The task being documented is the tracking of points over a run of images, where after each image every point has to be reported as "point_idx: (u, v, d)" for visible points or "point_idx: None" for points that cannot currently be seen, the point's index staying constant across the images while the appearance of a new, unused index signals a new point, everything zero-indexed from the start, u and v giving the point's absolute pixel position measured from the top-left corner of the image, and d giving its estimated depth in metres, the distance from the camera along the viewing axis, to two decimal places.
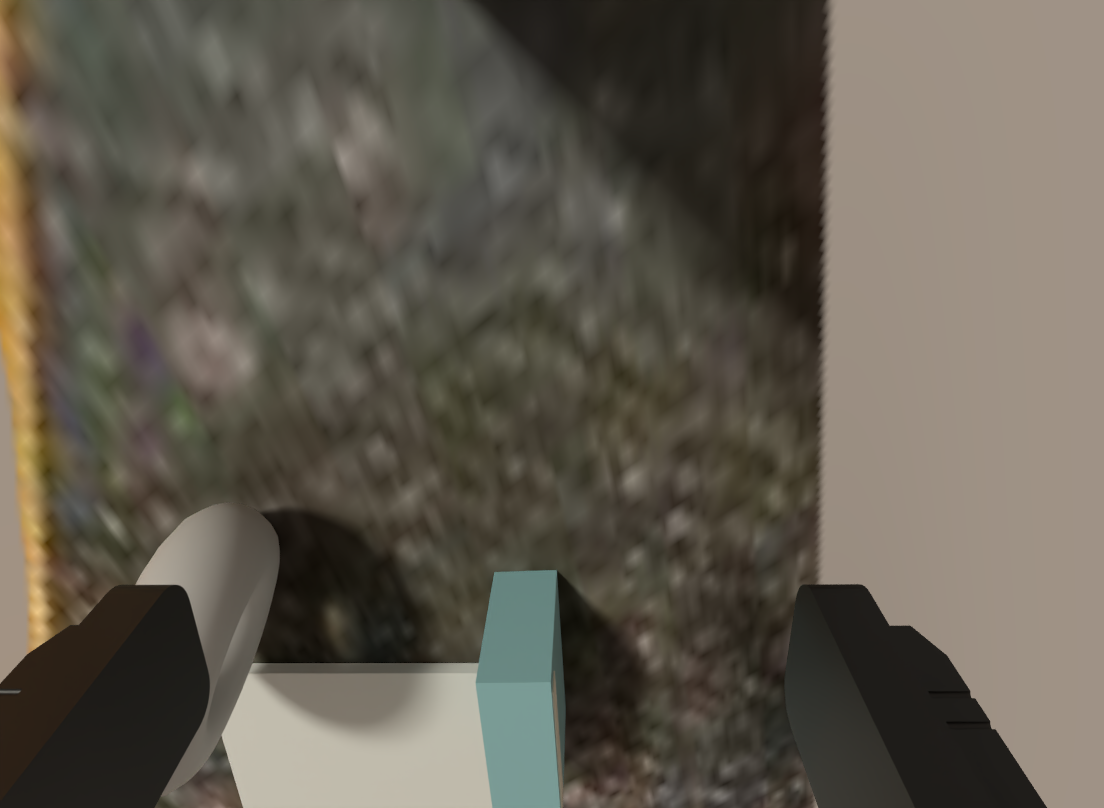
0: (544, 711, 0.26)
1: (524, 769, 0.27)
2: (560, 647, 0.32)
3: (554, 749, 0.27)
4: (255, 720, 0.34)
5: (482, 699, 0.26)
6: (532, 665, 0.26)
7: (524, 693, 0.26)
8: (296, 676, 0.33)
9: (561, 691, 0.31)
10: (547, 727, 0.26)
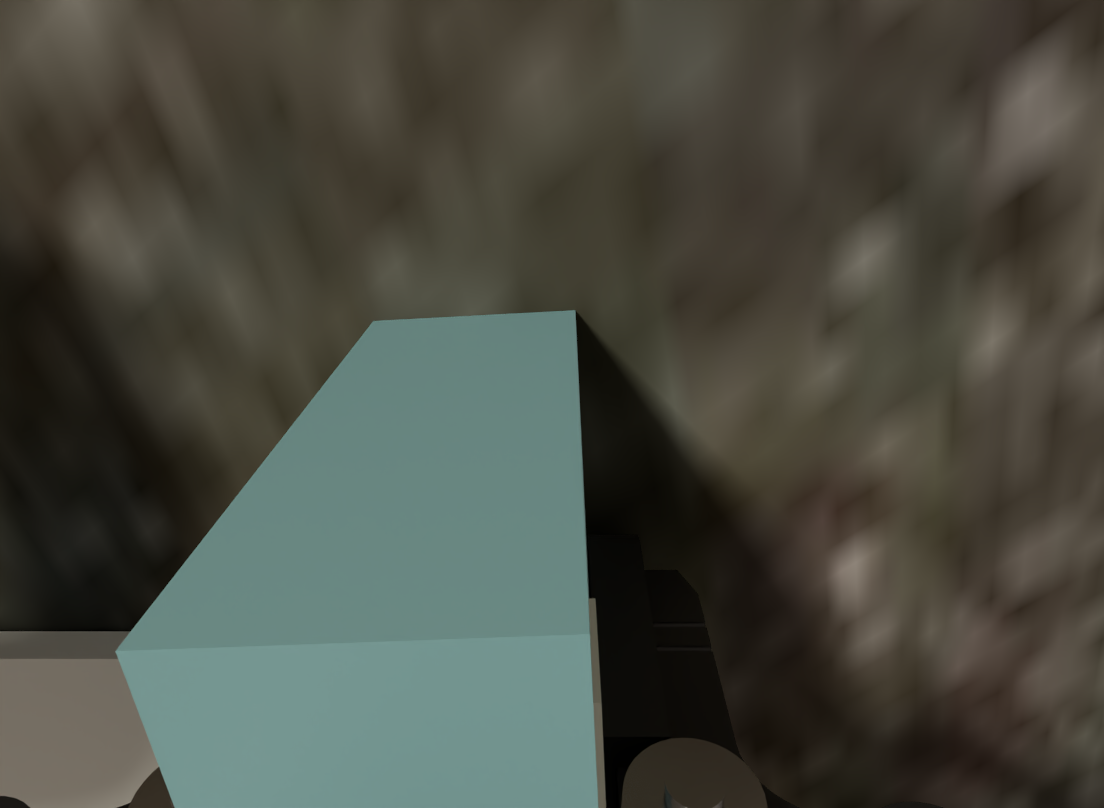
0: None
1: None
2: None
3: None
4: None
5: (181, 754, 0.04)
6: (477, 554, 0.05)
7: (427, 711, 0.04)
8: None
9: None
10: None
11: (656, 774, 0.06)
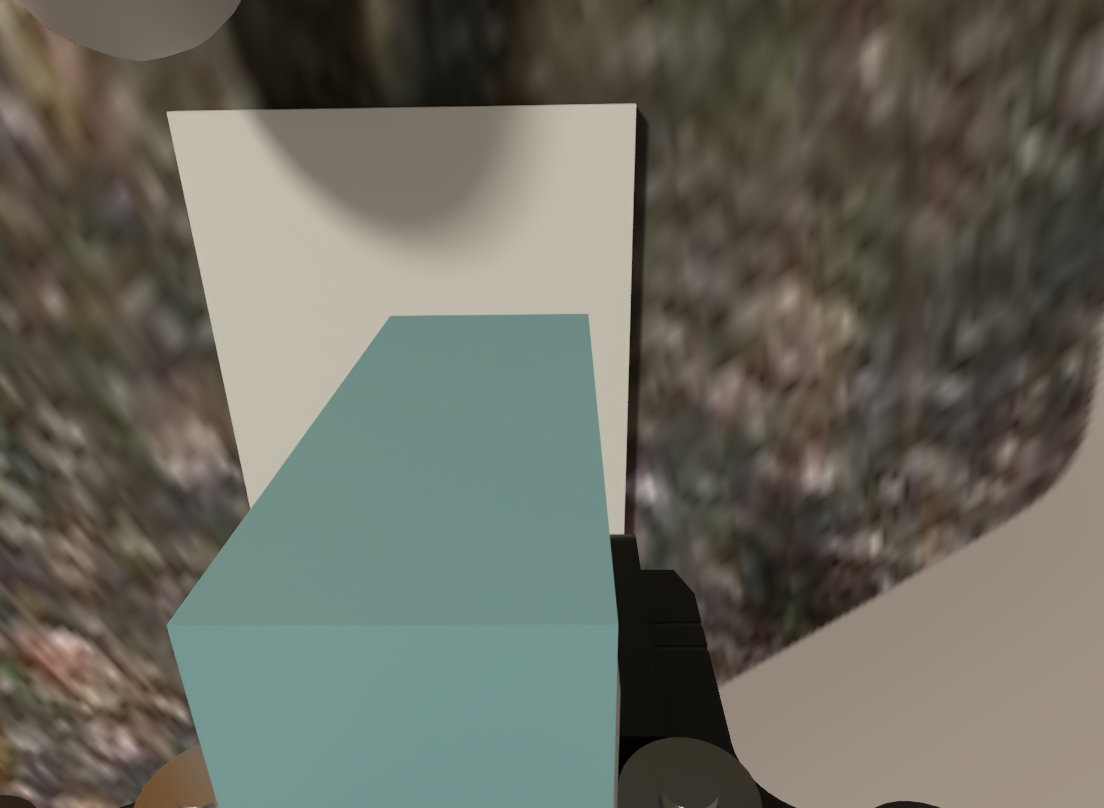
0: (568, 795, 0.05)
1: None
2: None
3: None
4: (248, 218, 0.22)
5: (221, 726, 0.05)
6: (506, 546, 0.05)
7: (459, 693, 0.04)
8: (314, 115, 0.21)
9: None
10: None
11: (651, 774, 0.06)
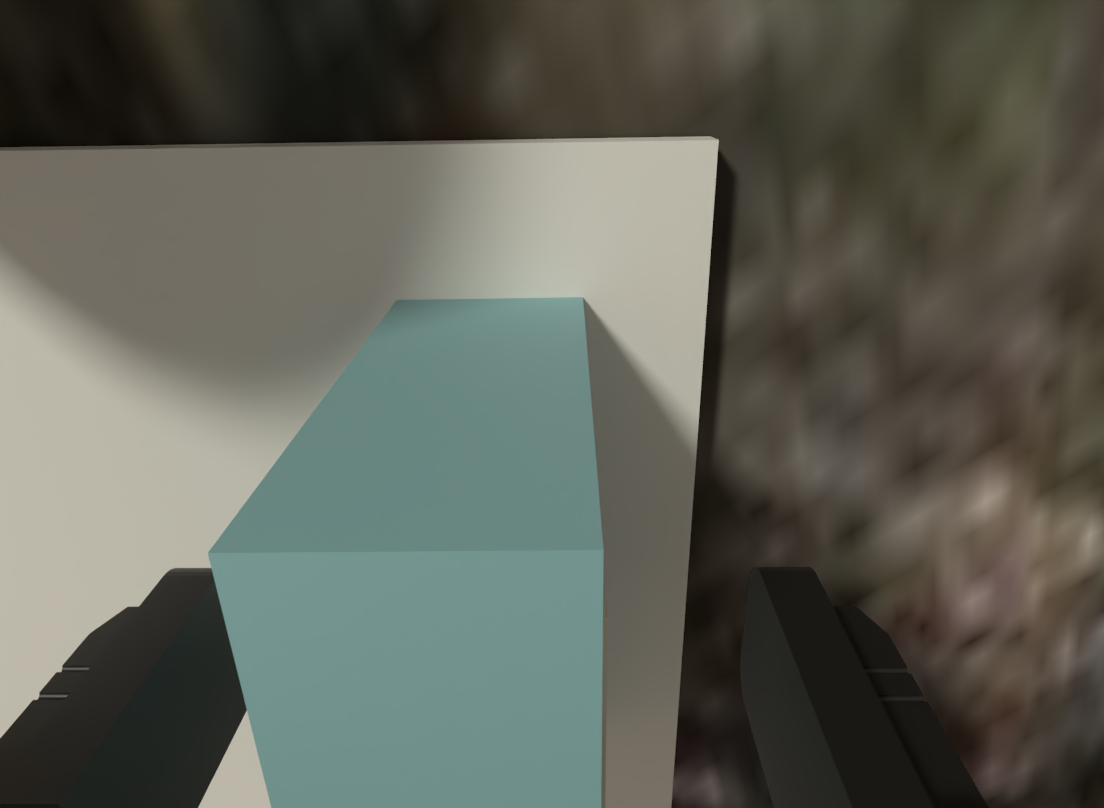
0: (561, 710, 0.05)
1: None
2: None
3: None
4: None
5: (254, 646, 0.05)
6: (506, 491, 0.06)
7: (464, 614, 0.05)
8: (35, 164, 0.10)
9: None
10: (570, 787, 0.06)
11: None
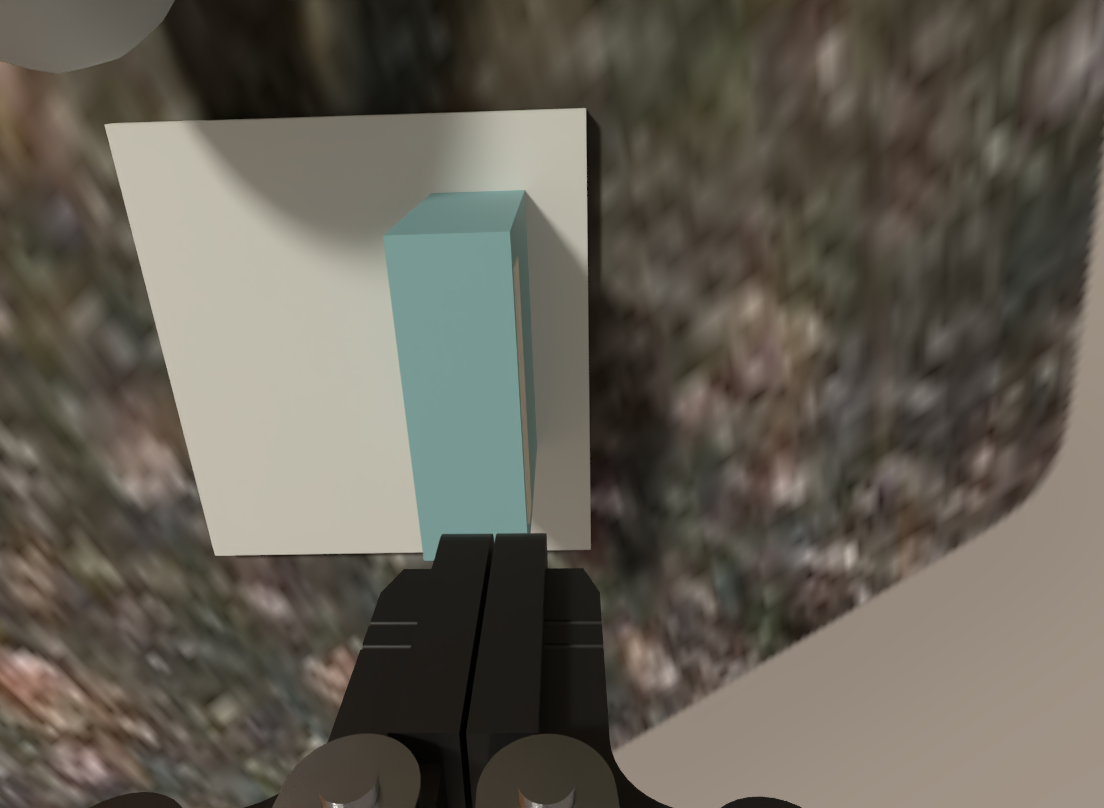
0: (499, 298, 0.16)
1: (467, 427, 0.17)
2: (529, 320, 0.21)
3: (516, 383, 0.16)
4: (192, 232, 0.21)
5: (395, 272, 0.15)
6: (480, 225, 0.16)
7: (465, 257, 0.15)
8: (256, 126, 0.20)
9: (530, 381, 0.21)
10: (504, 334, 0.16)
11: (512, 769, 0.07)
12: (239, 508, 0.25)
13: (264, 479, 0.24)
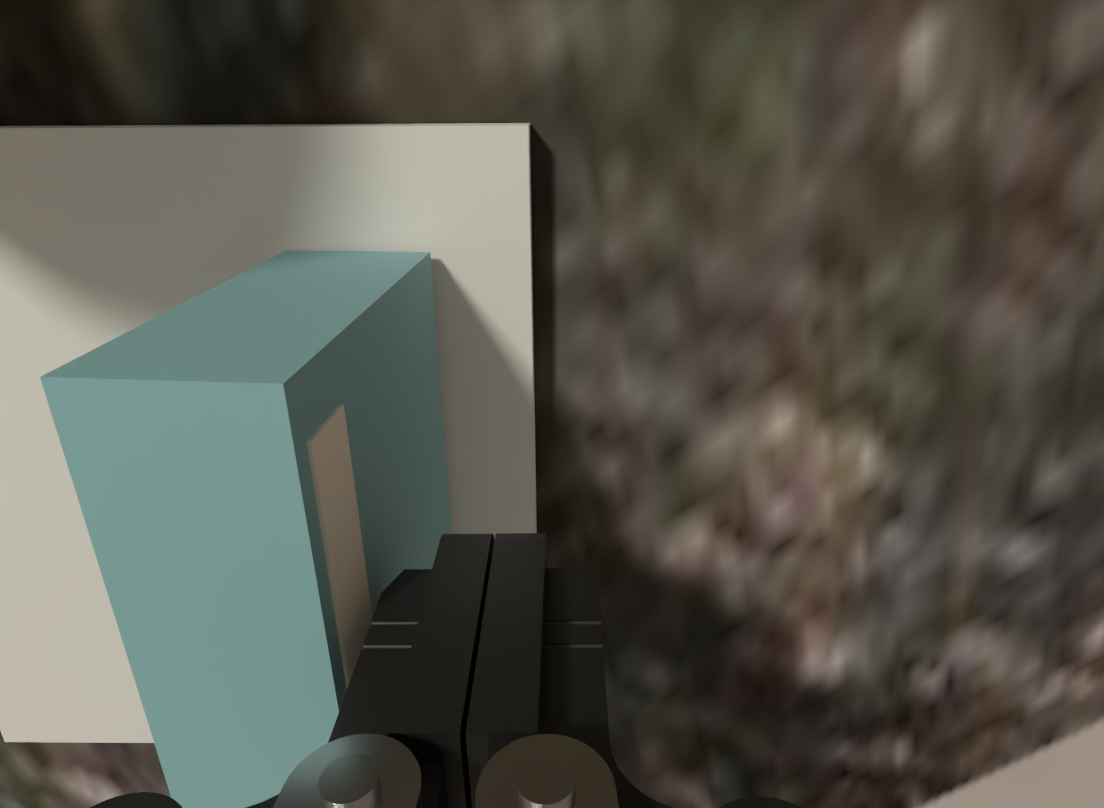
0: (277, 502, 0.08)
1: (244, 704, 0.09)
2: (435, 452, 0.14)
3: (324, 643, 0.09)
4: None
5: (74, 445, 0.08)
6: (252, 355, 0.08)
7: (203, 426, 0.08)
8: None
9: (427, 552, 0.13)
10: (293, 563, 0.08)
11: (512, 770, 0.07)
12: (32, 683, 0.17)
13: (65, 646, 0.17)
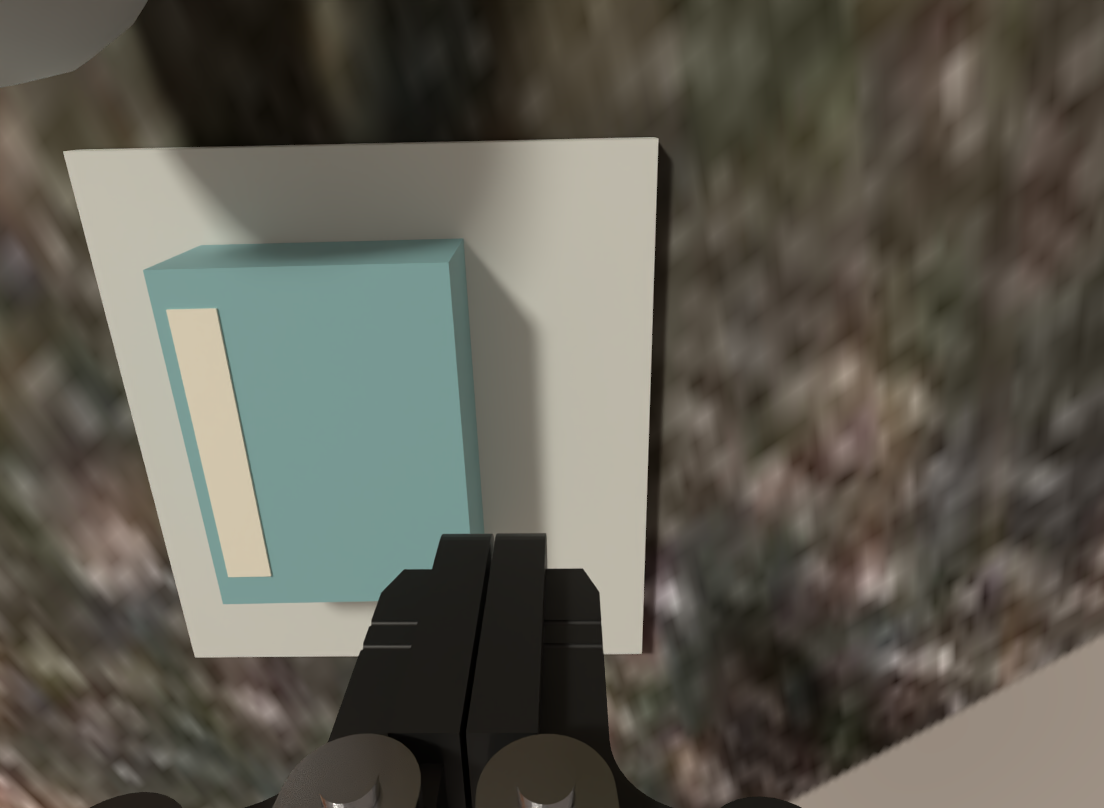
0: None
1: None
2: (427, 428, 0.16)
3: (181, 424, 0.16)
4: None
5: None
6: (197, 262, 0.15)
7: None
8: (251, 155, 0.16)
9: (386, 489, 0.16)
10: None
11: (512, 770, 0.07)
12: (224, 604, 0.21)
13: None
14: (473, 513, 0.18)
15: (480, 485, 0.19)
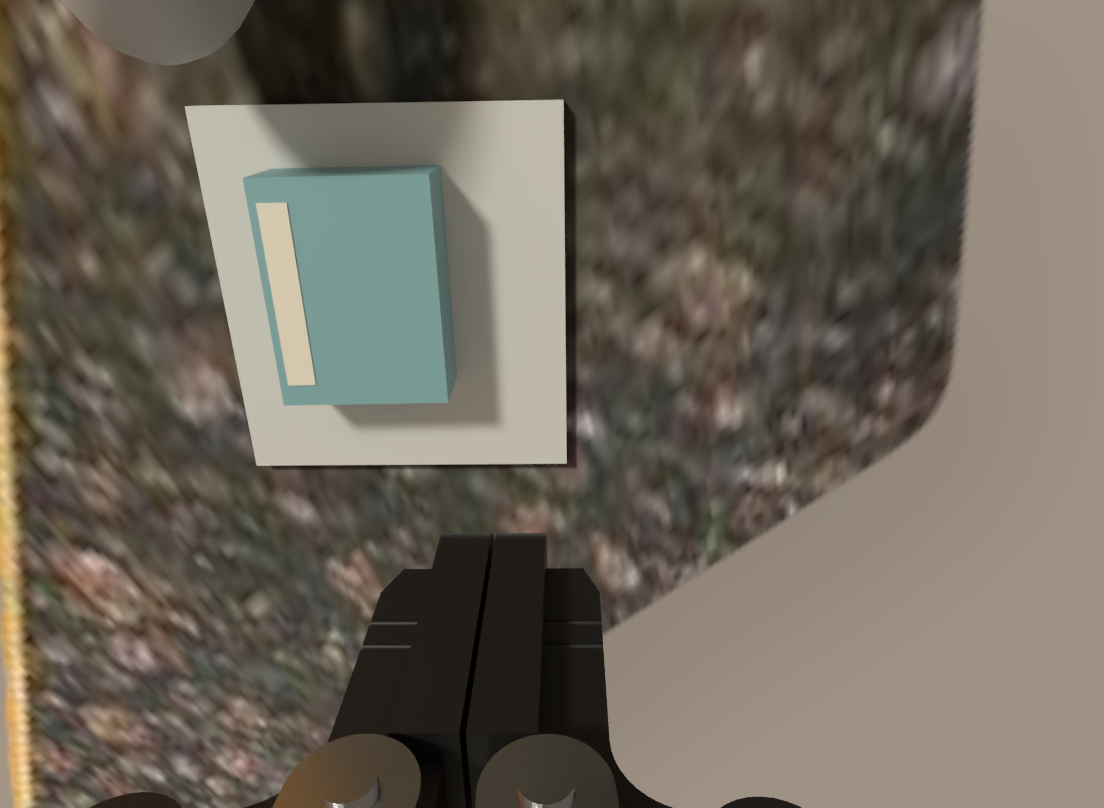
0: None
1: None
2: (416, 282, 0.25)
3: (261, 279, 0.25)
4: None
5: None
6: (273, 174, 0.24)
7: None
8: (304, 109, 0.25)
9: (390, 324, 0.26)
10: None
11: (512, 770, 0.07)
12: (278, 425, 0.30)
13: None
14: (447, 347, 0.27)
15: (453, 336, 0.29)
